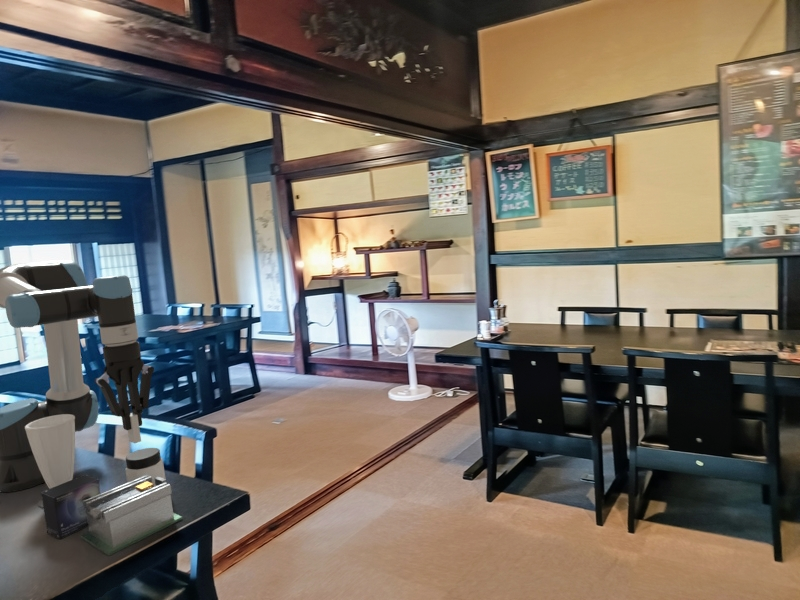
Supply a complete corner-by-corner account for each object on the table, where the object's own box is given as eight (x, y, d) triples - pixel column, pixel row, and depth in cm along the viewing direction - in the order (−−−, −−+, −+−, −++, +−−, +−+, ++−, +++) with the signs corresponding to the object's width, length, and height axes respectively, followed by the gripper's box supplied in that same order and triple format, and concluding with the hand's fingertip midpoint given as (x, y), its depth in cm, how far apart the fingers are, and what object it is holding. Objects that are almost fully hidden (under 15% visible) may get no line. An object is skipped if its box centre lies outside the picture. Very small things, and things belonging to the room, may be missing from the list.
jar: (132, 508, 136) (125, 463, 135) (128, 497, 143) (121, 454, 141) (170, 497, 141) (164, 453, 139) (164, 486, 148) (158, 444, 146)
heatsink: (81, 537, 124) (75, 501, 123) (152, 505, 137) (147, 472, 136) (109, 555, 115) (102, 517, 114) (182, 519, 128) (177, 484, 127)
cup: (93, 494, 146) (81, 418, 144) (44, 512, 138) (30, 431, 136) (79, 484, 154) (67, 411, 152) (32, 500, 146) (19, 423, 143)
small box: (60, 540, 123) (52, 497, 122) (46, 534, 127) (38, 492, 126) (105, 518, 132) (99, 477, 131) (91, 513, 136) (85, 473, 135)
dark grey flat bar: (94, 521, 117) (93, 513, 117) (86, 516, 120) (84, 508, 120) (156, 491, 128) (154, 484, 128) (146, 487, 131) (145, 480, 131)
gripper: (98, 350, 116) (114, 454, 119) (156, 338, 127) (169, 434, 129) (83, 348, 121) (99, 448, 124) (140, 336, 131) (153, 429, 134)
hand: (135, 441), depth 127 cm, fingers closed
